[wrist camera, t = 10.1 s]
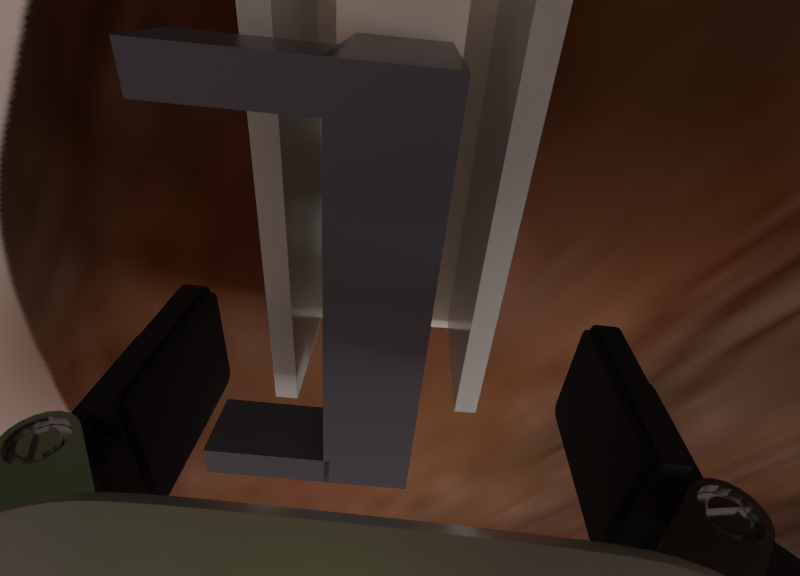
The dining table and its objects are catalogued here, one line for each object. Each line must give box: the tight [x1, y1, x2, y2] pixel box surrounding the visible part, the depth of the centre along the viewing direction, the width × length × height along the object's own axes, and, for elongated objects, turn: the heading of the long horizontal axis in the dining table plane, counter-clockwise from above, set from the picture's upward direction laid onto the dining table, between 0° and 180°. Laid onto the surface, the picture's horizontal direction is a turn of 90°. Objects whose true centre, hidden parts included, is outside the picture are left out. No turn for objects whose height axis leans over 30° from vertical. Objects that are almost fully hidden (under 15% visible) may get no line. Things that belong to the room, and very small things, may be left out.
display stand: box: [235, 0, 573, 413], centre depth 20 cm, size 10×18×8 cm, turn 176°
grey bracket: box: [109, 26, 471, 489], centre depth 15 cm, size 7×14×6 cm, turn 175°
